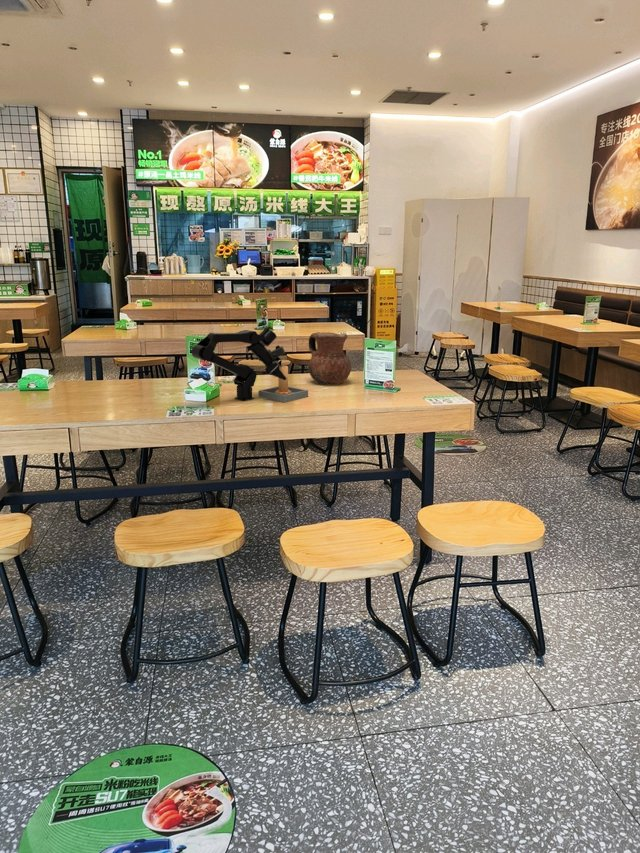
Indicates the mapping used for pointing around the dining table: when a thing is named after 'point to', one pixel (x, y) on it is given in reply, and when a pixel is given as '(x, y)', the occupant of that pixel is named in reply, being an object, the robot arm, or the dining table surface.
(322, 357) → the jug
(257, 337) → the robot arm
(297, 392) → the grey square tray
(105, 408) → the dining table surface
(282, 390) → the peach joystick knob
